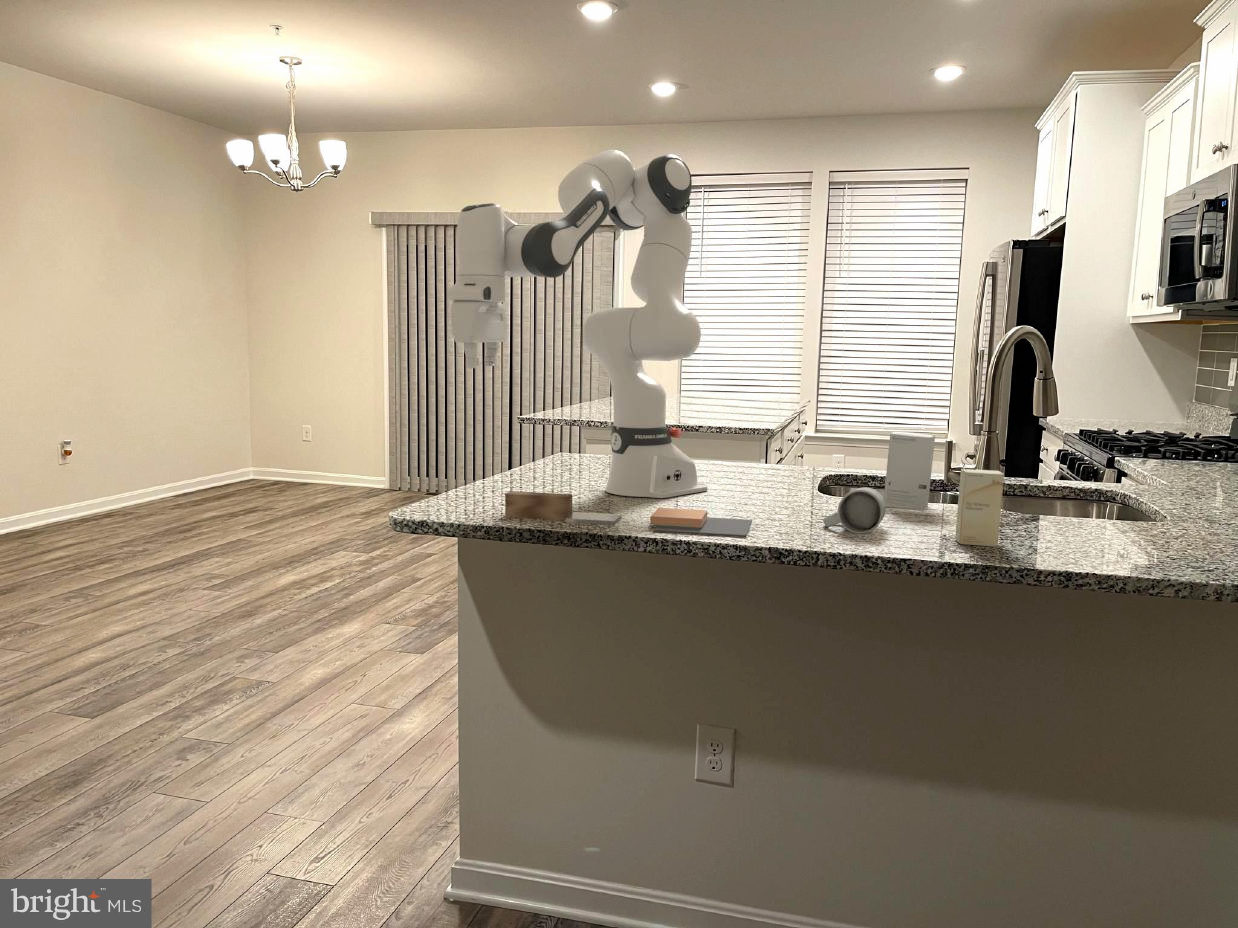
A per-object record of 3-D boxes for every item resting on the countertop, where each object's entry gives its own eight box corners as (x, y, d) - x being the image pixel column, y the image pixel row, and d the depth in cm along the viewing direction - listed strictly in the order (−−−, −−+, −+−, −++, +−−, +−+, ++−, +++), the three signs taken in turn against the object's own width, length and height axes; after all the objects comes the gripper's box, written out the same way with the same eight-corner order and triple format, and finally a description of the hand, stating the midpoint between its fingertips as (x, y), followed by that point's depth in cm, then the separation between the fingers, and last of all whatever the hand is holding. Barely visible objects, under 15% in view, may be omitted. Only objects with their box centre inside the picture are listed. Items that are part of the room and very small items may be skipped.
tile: (650, 516, 158) (701, 519, 156) (658, 507, 165) (707, 510, 164) (650, 526, 158) (701, 529, 156) (658, 517, 166) (707, 520, 164)
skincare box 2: (959, 544, 149) (964, 472, 147) (954, 538, 153) (959, 468, 151) (999, 547, 148) (1005, 473, 146) (993, 541, 152) (999, 469, 150)
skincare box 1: (882, 507, 180) (887, 433, 178) (887, 502, 185) (892, 430, 183) (926, 511, 176) (931, 436, 174) (930, 506, 182) (935, 433, 180)
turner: (502, 518, 165) (502, 495, 164) (513, 512, 171) (513, 489, 170) (614, 525, 161) (614, 501, 160) (621, 518, 166) (621, 495, 166)
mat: (652, 531, 155) (652, 529, 155) (665, 516, 168) (665, 514, 168) (746, 537, 152) (746, 535, 152) (751, 521, 165) (751, 519, 165)
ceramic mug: (886, 526, 162) (888, 484, 161) (881, 536, 155) (883, 491, 154) (826, 522, 166) (828, 481, 165) (819, 531, 159) (820, 488, 158)
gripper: (484, 294, 179) (484, 364, 181) (444, 290, 159) (445, 368, 161) (514, 295, 178) (514, 365, 180) (478, 290, 158) (479, 369, 160)
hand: (481, 367), depth 170 cm, fingers open, 8 cm apart
